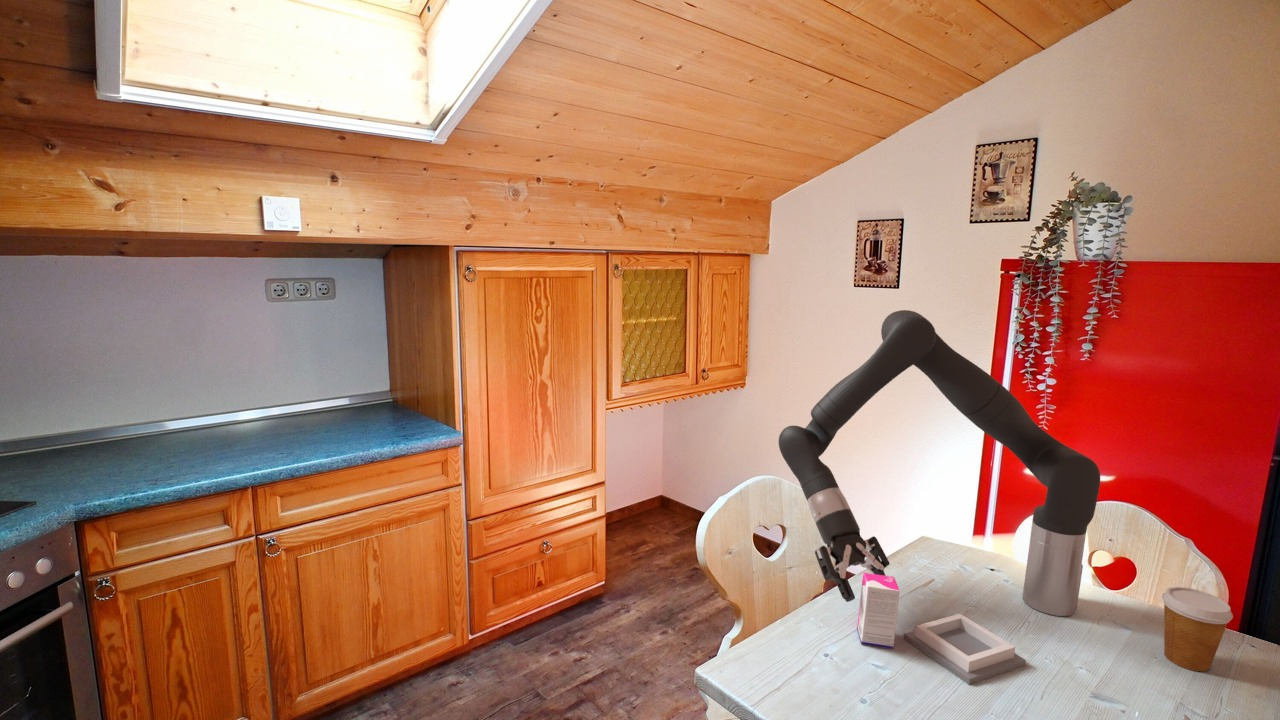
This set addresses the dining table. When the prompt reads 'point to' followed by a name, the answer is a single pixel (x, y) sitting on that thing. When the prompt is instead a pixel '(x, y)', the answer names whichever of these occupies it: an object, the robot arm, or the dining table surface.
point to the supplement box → (878, 610)
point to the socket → (965, 648)
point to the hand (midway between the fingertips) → (868, 596)
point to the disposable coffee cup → (1193, 627)
